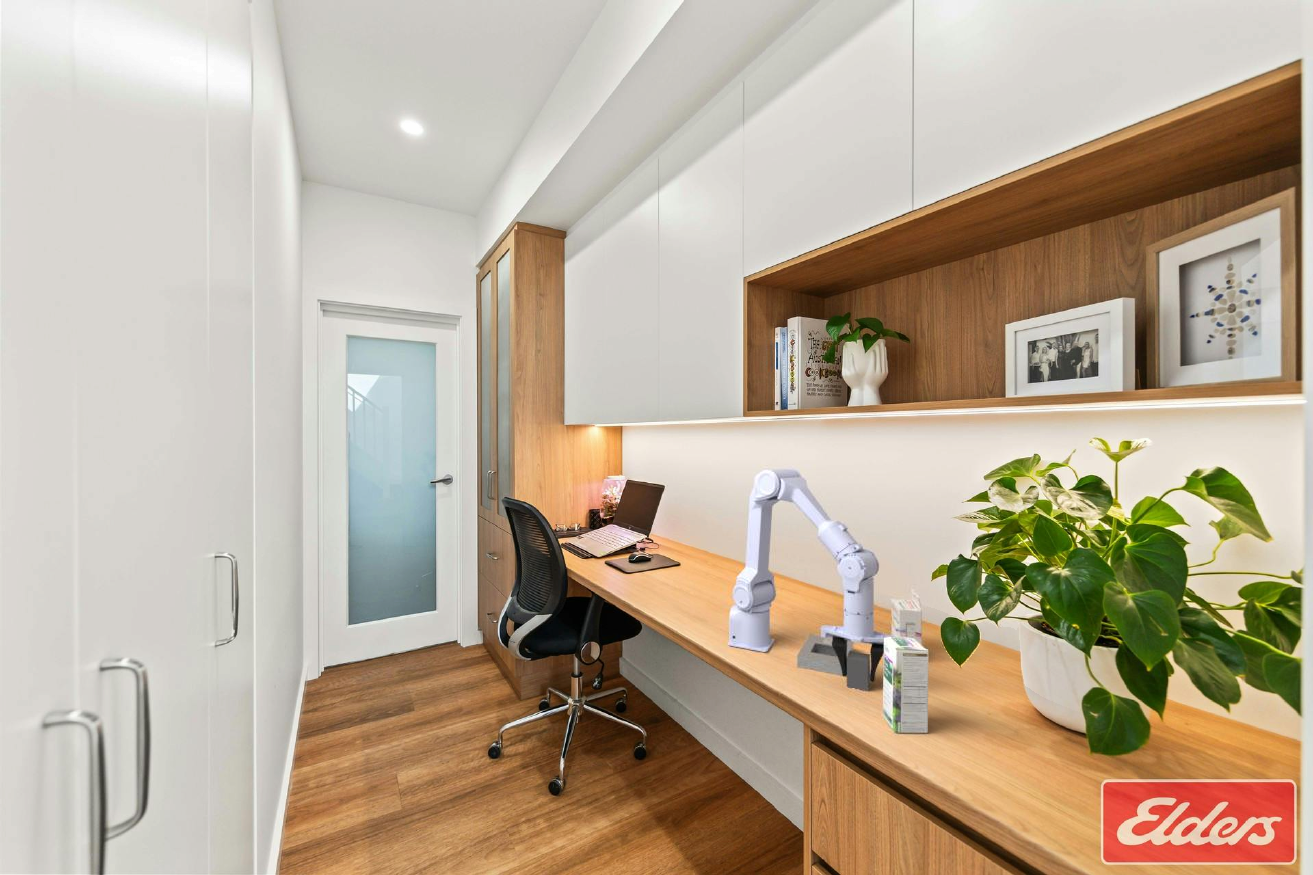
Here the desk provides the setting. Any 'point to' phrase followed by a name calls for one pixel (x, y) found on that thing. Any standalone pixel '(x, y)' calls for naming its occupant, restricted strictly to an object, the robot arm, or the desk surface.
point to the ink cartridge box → (907, 617)
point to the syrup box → (905, 685)
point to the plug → (858, 670)
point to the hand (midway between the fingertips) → (858, 677)
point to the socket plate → (820, 655)
